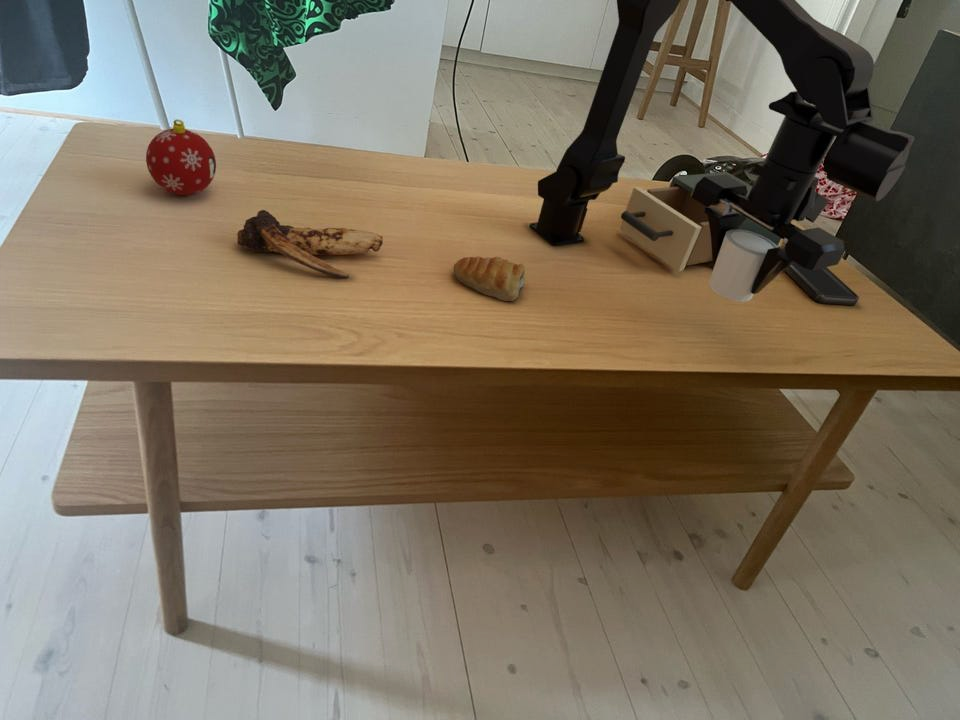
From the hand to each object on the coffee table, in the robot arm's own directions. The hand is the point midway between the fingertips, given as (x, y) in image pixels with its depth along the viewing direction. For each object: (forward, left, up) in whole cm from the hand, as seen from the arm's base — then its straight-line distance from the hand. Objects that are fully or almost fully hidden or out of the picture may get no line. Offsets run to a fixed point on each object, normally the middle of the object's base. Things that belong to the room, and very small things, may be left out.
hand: (735, 279), depth 86 cm
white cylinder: (0, 0, -2) cm, 2 cm away
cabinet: (+22, +19, -8) cm, 30 cm away
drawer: (+10, +19, -7) cm, 23 cm away
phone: (+31, +5, -8) cm, 32 cm away
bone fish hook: (-44, +30, -8) cm, 54 cm away
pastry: (-24, +18, -8) cm, 31 cm away
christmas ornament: (-54, +51, -8) cm, 75 cm away
